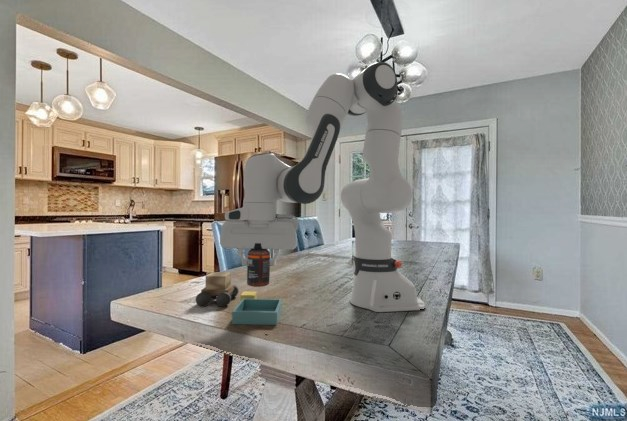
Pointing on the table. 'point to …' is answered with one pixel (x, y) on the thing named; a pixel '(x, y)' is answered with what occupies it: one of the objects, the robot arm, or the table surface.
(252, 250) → the supplement bottle
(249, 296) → the yellow cube
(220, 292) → the trolley
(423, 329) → the table surface
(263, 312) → the tray
